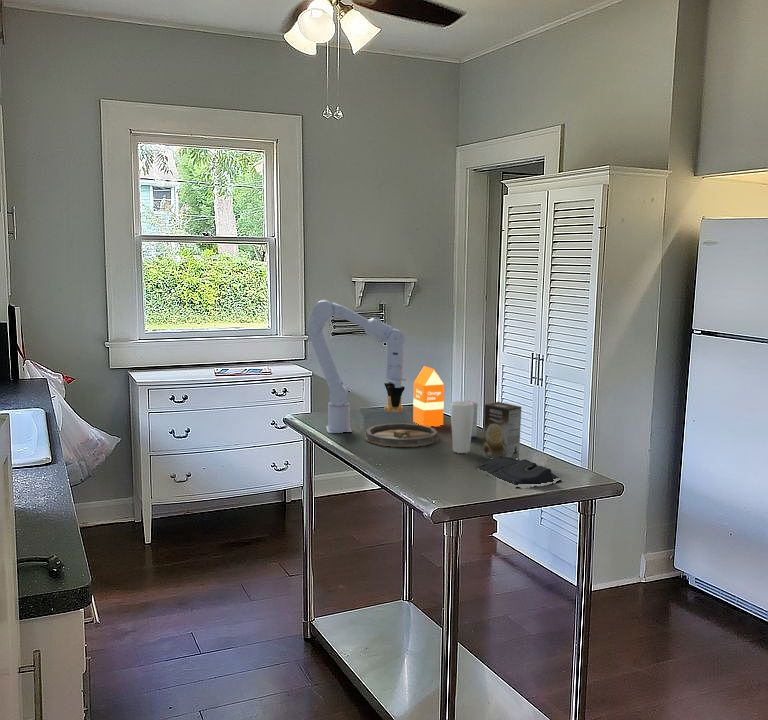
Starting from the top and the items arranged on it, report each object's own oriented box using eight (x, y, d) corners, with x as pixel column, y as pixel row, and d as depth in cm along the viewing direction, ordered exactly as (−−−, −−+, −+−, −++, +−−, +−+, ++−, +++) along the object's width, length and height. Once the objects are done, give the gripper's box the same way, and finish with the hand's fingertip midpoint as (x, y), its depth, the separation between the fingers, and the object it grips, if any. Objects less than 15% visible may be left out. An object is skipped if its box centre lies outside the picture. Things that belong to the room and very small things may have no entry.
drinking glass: (476, 454, 234) (477, 404, 232) (454, 455, 232) (456, 405, 230) (467, 448, 241) (468, 400, 239) (446, 449, 239) (447, 401, 237)
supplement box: (477, 437, 255) (478, 403, 253) (461, 439, 252) (462, 404, 251) (467, 434, 260) (468, 400, 258) (452, 435, 257) (453, 401, 256)
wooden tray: (360, 430, 263) (360, 423, 262) (430, 429, 266) (430, 421, 266) (369, 448, 239) (369, 440, 239) (446, 446, 243) (446, 438, 243)
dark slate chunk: (515, 464, 225) (515, 448, 225) (566, 484, 206) (566, 467, 205) (470, 470, 218) (471, 454, 218) (519, 492, 199) (519, 474, 198)
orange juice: (423, 427, 269) (424, 369, 266) (412, 422, 277) (413, 366, 274) (443, 425, 272) (444, 368, 269) (432, 420, 280) (433, 365, 277)
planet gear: (383, 408, 265) (383, 395, 265) (401, 407, 266) (401, 394, 266) (386, 412, 259) (386, 398, 258) (405, 411, 260) (405, 398, 260)
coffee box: (482, 457, 230) (483, 404, 228) (496, 454, 235) (497, 401, 232) (506, 464, 224) (508, 408, 221) (520, 460, 228) (522, 406, 226)
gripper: (410, 368, 254) (410, 409, 256) (402, 362, 268) (401, 401, 270) (389, 368, 253) (388, 410, 255) (381, 362, 267) (381, 401, 269)
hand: (394, 405), depth 263 cm, fingers closed on planet gear, 4 cm apart
